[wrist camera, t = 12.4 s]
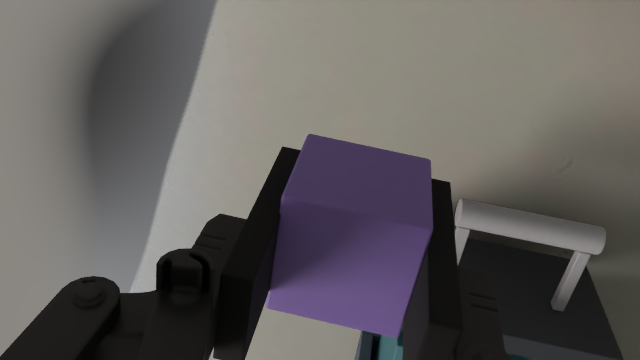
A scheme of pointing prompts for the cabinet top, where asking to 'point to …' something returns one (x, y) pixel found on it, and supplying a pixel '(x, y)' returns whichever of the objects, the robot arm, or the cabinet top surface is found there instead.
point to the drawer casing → (367, 346)
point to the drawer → (534, 285)
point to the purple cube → (352, 235)
